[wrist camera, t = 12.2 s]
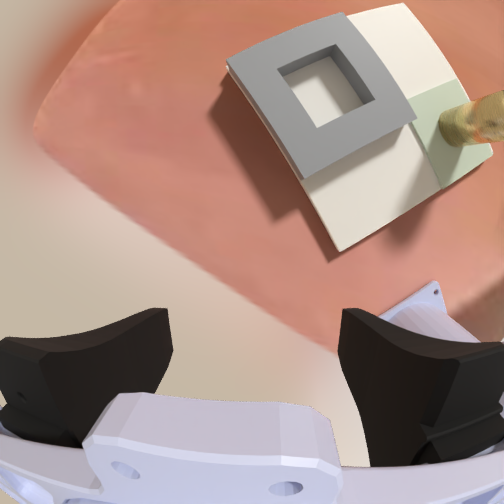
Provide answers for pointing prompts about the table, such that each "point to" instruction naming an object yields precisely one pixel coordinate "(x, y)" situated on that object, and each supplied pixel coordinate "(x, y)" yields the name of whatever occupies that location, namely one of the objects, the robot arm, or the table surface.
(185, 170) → the table surface
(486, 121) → the brass cylinder
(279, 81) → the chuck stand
